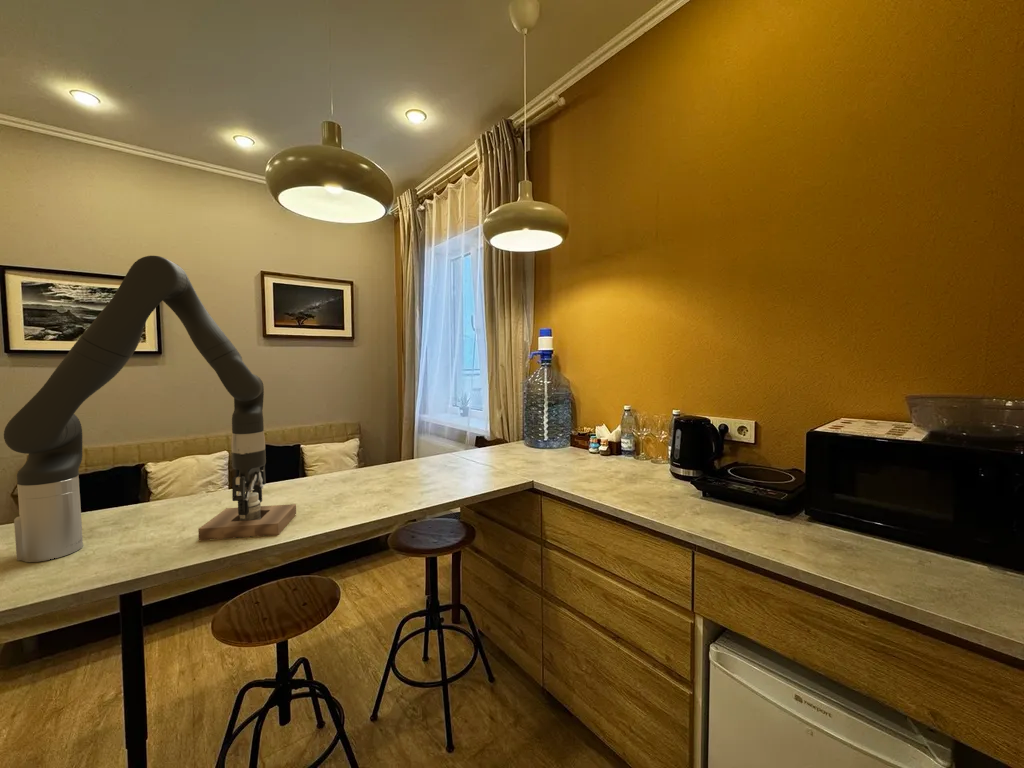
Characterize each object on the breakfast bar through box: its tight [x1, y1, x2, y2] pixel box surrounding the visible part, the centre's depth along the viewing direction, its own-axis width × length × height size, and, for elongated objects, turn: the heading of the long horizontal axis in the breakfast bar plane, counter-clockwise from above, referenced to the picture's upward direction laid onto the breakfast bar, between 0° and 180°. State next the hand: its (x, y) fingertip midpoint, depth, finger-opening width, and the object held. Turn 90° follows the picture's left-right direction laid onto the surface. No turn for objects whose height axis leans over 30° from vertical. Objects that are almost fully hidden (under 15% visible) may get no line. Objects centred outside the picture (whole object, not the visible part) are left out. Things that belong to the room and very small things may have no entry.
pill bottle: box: [240, 492, 261, 521], centre depth 108 cm, size 5×5×8 cm
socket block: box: [198, 503, 297, 541], centre depth 108 cm, size 18×14×3 cm
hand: (250, 508), depth 108 cm, fingers open, 8 cm apart
